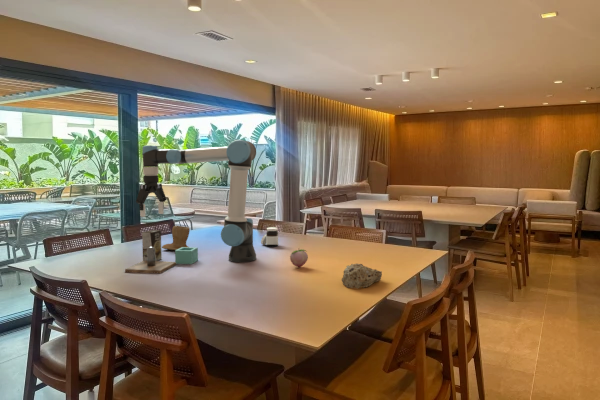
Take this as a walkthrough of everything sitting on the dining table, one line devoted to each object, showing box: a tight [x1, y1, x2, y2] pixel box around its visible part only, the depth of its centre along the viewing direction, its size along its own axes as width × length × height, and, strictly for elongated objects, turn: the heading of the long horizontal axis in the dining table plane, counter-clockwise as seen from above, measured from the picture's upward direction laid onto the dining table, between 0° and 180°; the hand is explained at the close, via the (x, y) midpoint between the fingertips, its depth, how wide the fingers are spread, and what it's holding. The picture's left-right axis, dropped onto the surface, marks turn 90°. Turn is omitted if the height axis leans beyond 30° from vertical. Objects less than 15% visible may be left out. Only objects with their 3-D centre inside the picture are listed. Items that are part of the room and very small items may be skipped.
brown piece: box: [161, 225, 190, 251], centre depth 258 cm, size 15×12×15 cm
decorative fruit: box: [289, 248, 309, 268], centre depth 215 cm, size 9×8×10 cm
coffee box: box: [141, 229, 163, 261], centre depth 230 cm, size 9×6×16 cm
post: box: [147, 247, 156, 266], centre depth 212 cm, size 4×4×11 cm
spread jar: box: [260, 226, 279, 248], centre depth 272 cm, size 12×11×12 cm
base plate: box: [124, 260, 177, 274], centre depth 212 cm, size 18×18×2 cm
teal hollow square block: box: [174, 246, 199, 265], centre depth 227 cm, size 9×9×7 cm
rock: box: [341, 263, 383, 289], centre depth 187 cm, size 21×14×10 cm
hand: (152, 215), depth 224 cm, fingers open, 13 cm apart
